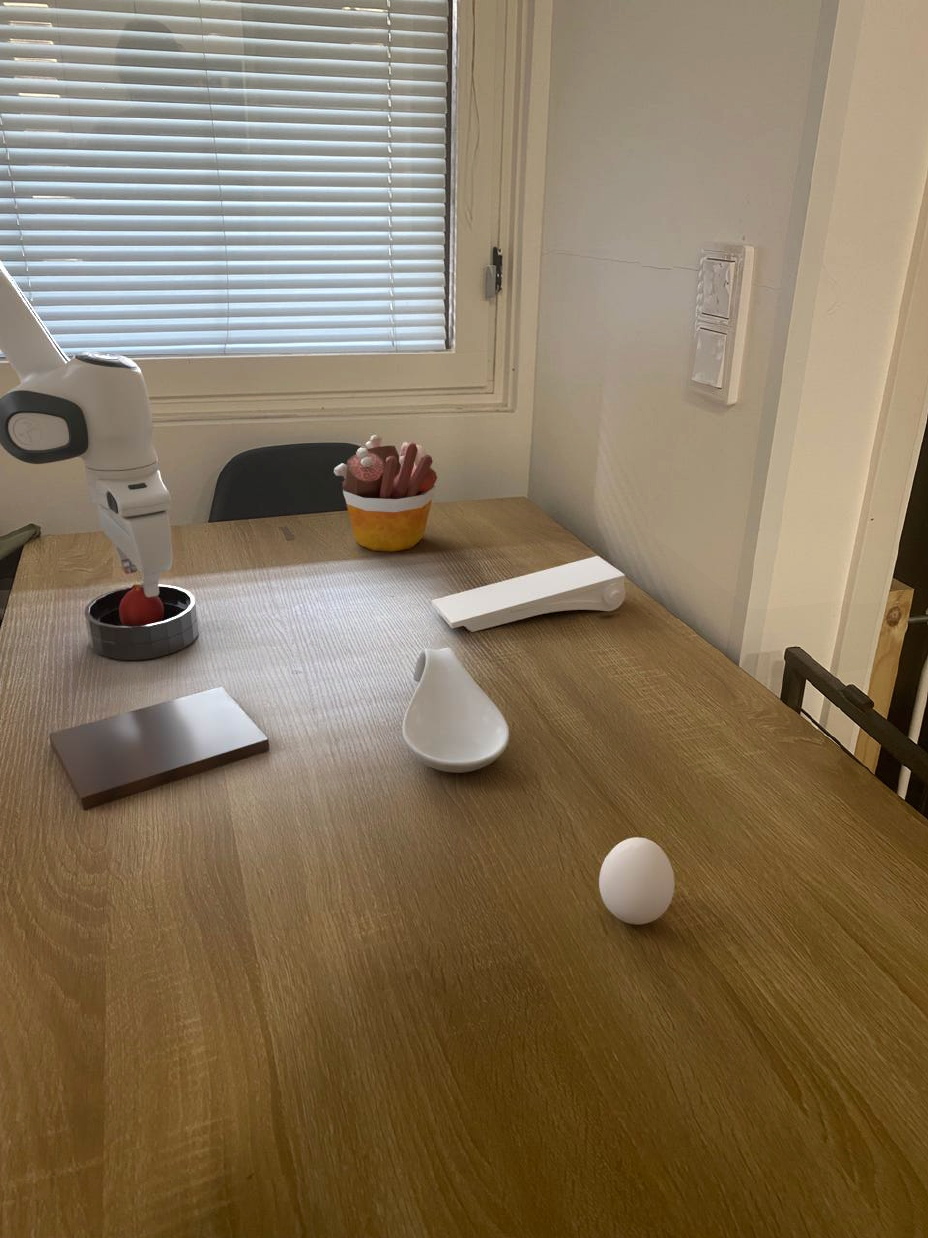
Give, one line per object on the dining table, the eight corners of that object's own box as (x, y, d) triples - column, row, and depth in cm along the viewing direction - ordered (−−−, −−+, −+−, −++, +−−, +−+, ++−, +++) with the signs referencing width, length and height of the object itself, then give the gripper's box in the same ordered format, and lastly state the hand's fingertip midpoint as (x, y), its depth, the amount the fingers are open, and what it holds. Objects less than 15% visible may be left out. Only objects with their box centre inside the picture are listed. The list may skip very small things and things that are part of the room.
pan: (107, 671, 117) (101, 637, 115) (78, 630, 127) (72, 597, 125) (213, 645, 124) (210, 612, 122) (178, 608, 135) (174, 577, 133)
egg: (670, 947, 76) (682, 874, 73) (593, 936, 77) (602, 863, 74) (668, 895, 82) (679, 825, 79) (597, 885, 83) (605, 815, 80)
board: (83, 810, 91) (81, 798, 90) (50, 745, 101) (48, 733, 101) (269, 750, 102) (268, 739, 101) (222, 696, 112) (221, 686, 111)
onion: (132, 625, 128) (124, 573, 125) (172, 627, 128) (166, 575, 125) (116, 644, 123) (108, 590, 120) (158, 646, 123) (151, 592, 120)
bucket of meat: (326, 531, 166) (321, 422, 158) (407, 519, 174) (407, 415, 165) (368, 568, 150) (366, 450, 142) (456, 553, 158) (459, 440, 149)
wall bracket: (456, 667, 132) (625, 618, 140) (455, 630, 127) (630, 581, 135) (431, 625, 138) (593, 580, 146) (430, 588, 134) (597, 543, 142)
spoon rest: (519, 783, 97) (523, 726, 94) (410, 794, 95) (410, 736, 92) (473, 677, 118) (475, 627, 115) (383, 684, 116) (382, 633, 113)
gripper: (78, 468, 122) (95, 563, 128) (122, 508, 107) (139, 614, 113) (126, 461, 126) (140, 554, 132) (175, 499, 111) (189, 603, 117)
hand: (140, 582), depth 122 cm, fingers open, 8 cm apart
